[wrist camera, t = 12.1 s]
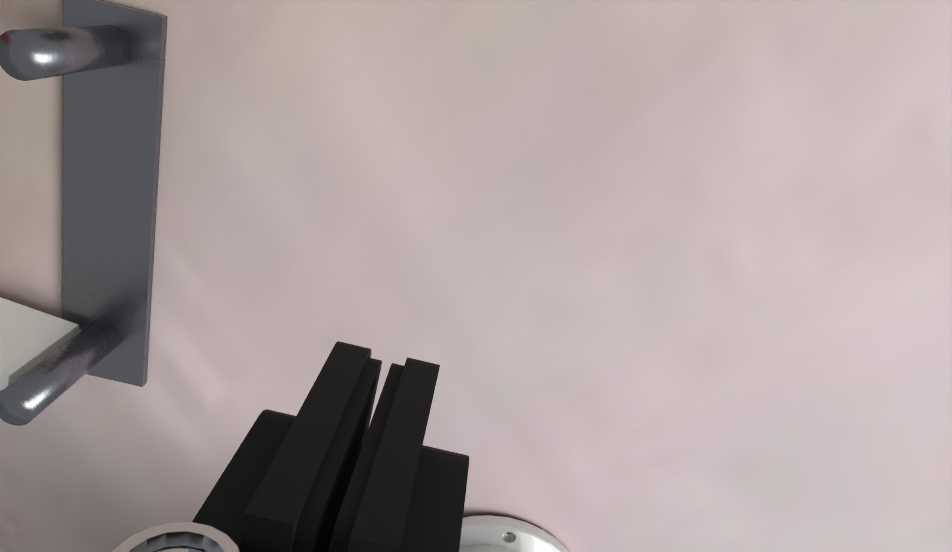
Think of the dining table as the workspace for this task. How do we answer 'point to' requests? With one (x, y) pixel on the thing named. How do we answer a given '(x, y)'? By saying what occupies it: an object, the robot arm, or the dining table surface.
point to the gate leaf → (28, 338)
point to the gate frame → (99, 190)
